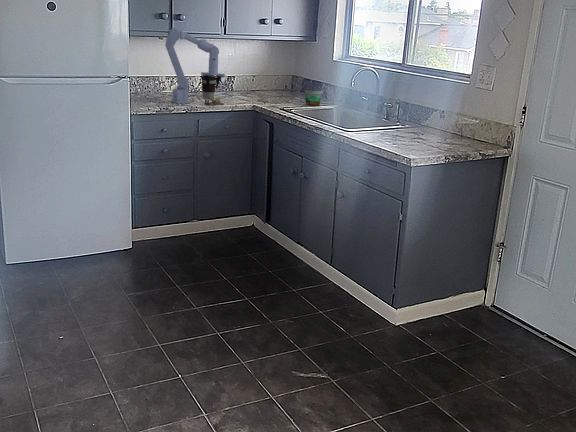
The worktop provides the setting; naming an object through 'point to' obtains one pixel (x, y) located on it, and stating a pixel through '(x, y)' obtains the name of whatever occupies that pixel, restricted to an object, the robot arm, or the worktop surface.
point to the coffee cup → (207, 91)
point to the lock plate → (212, 103)
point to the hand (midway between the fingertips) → (212, 88)
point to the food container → (313, 97)
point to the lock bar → (215, 99)
